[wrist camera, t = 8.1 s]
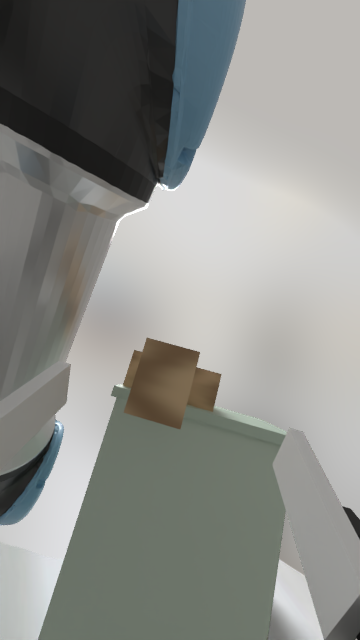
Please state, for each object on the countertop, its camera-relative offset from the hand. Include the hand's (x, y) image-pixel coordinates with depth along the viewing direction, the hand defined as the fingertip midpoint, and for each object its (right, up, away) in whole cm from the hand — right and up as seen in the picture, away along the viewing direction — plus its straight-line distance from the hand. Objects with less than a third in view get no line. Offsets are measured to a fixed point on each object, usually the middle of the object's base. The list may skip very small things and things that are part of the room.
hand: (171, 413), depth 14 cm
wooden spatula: (-1, -3, +10) cm, 10 cm away
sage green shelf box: (-5, -33, +7) cm, 34 cm away
